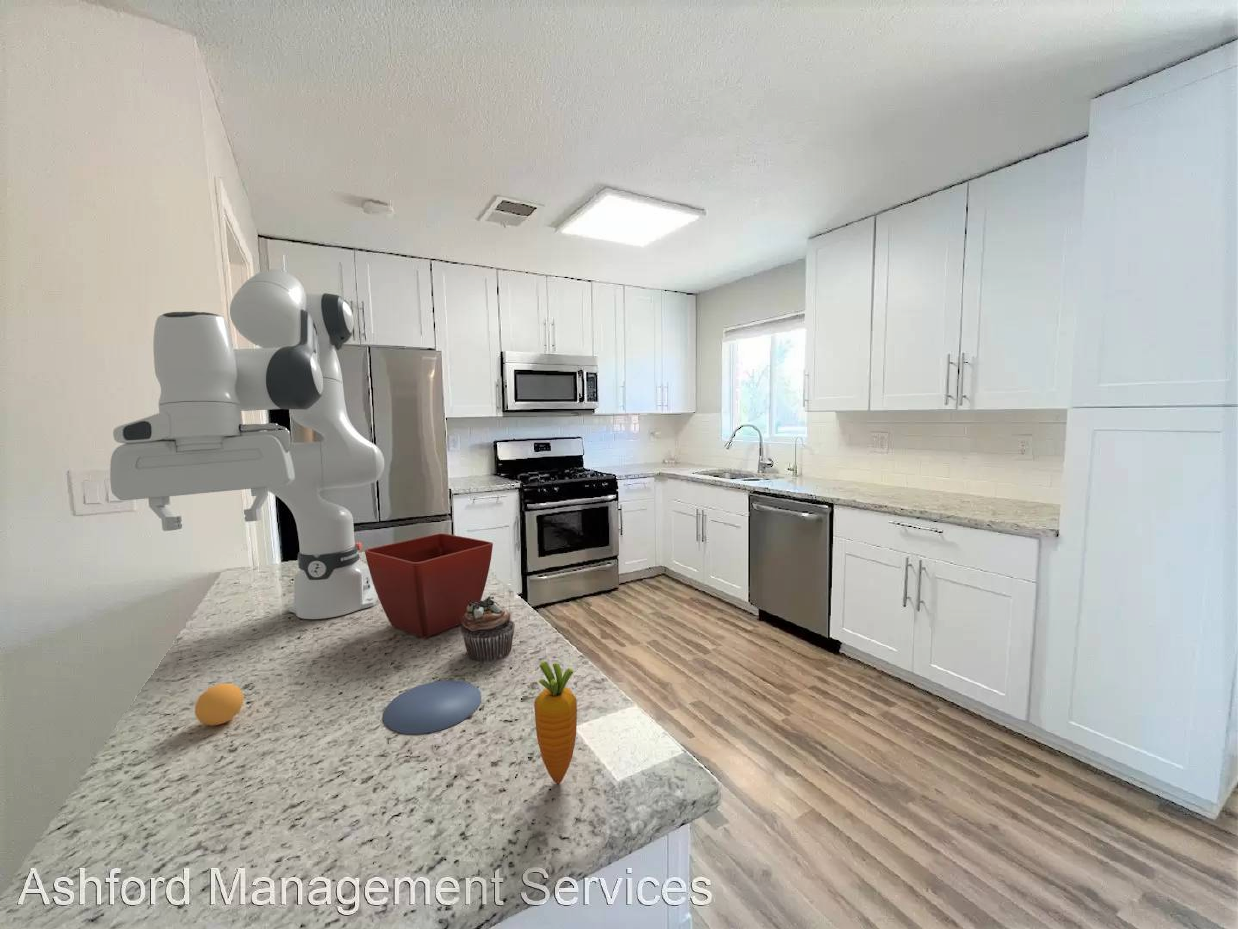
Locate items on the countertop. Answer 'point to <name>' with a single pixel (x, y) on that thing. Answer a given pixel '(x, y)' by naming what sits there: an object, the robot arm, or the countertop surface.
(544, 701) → the carrot
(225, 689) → the ball
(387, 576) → the plant pot
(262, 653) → the countertop surface
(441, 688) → the disc
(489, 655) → the cupcake
